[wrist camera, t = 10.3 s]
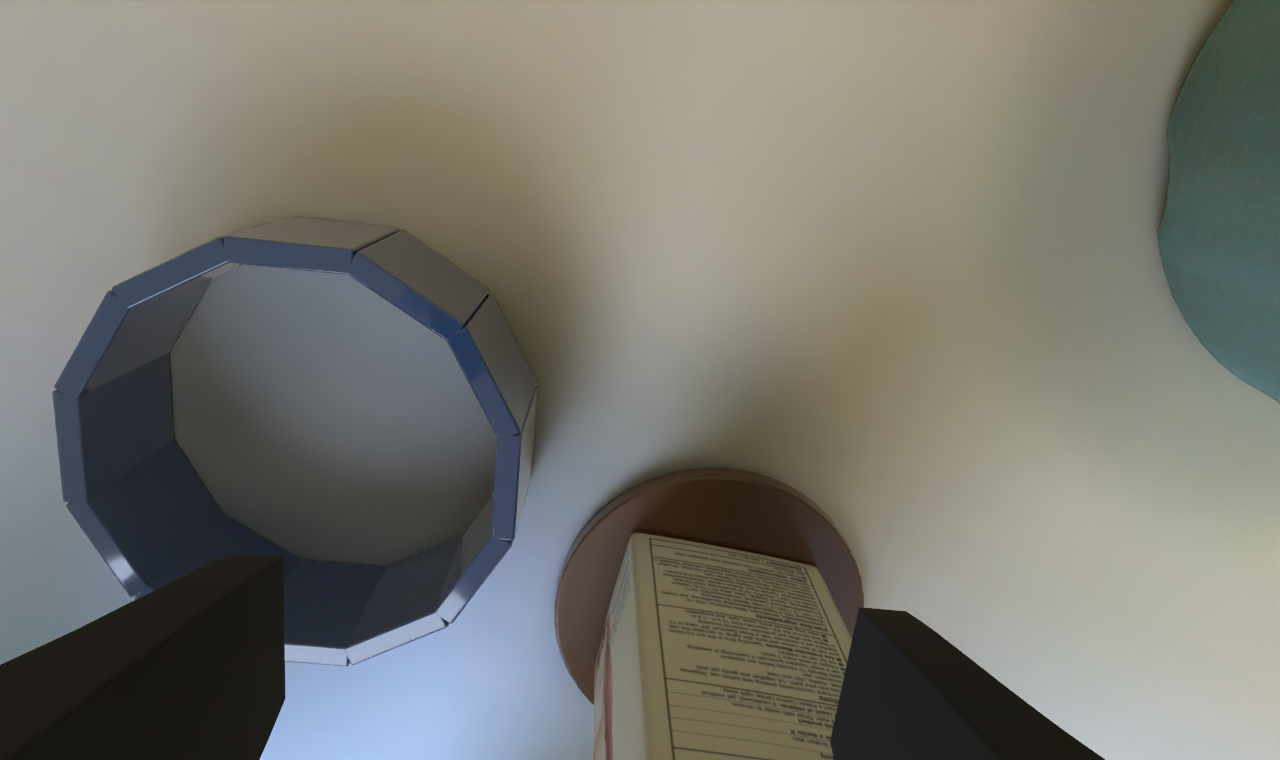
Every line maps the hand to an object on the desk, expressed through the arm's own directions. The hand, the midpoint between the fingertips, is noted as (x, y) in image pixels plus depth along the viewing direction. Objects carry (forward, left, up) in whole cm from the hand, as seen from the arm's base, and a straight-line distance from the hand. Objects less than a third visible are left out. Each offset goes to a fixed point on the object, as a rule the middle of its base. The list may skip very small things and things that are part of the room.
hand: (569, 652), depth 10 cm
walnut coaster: (+4, -5, -10) cm, 12 cm away
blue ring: (-6, -1, -10) cm, 12 cm away
